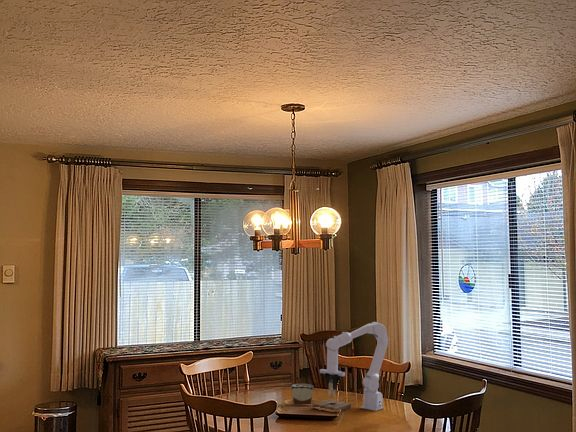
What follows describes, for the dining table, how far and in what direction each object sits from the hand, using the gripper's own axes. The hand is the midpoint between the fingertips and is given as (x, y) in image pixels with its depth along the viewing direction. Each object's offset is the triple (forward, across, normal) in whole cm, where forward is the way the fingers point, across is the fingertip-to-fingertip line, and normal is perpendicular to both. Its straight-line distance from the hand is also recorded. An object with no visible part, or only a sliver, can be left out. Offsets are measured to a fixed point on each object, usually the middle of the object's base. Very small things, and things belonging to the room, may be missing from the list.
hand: (332, 389), depth 310 cm
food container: (+10, -18, -1) cm, 21 cm away
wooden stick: (+4, 0, 0) cm, 4 cm away
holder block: (+10, 0, 0) cm, 10 cm away
